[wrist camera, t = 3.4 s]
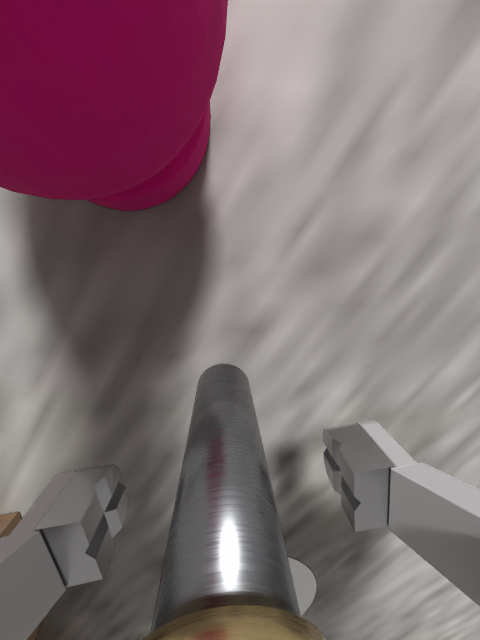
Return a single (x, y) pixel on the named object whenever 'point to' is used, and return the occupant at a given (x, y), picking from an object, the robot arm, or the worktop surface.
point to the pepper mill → (106, 97)
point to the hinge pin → (226, 530)
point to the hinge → (4, 527)
